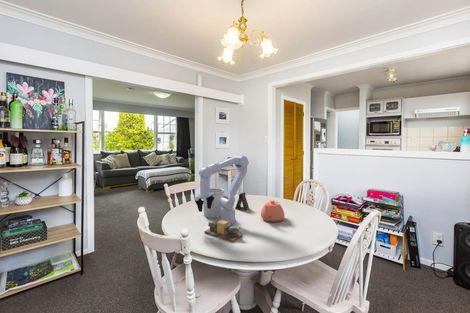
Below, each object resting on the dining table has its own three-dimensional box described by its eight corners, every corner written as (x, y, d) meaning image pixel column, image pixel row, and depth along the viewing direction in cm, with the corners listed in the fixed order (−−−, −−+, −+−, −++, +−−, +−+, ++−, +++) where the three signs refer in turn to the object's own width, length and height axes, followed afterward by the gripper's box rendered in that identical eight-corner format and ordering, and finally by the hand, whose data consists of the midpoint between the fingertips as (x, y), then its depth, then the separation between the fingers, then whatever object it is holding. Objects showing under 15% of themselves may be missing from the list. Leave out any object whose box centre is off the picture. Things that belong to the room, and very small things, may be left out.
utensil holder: (214, 219, 153) (214, 193, 151) (198, 215, 162) (198, 190, 160) (228, 213, 164) (228, 189, 163) (212, 209, 173) (212, 186, 172)
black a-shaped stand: (235, 208, 176) (235, 193, 175) (238, 206, 181) (238, 191, 180) (246, 210, 172) (246, 194, 171) (249, 208, 177) (249, 192, 176)
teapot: (276, 227, 140) (277, 207, 139) (253, 222, 148) (254, 203, 147) (288, 216, 158) (288, 198, 157) (267, 212, 167) (267, 195, 166)
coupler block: (228, 232, 129) (228, 221, 129) (224, 234, 126) (224, 224, 125) (221, 230, 132) (221, 220, 131) (216, 232, 128) (216, 222, 128)
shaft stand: (204, 233, 131) (204, 222, 130) (214, 228, 138) (214, 218, 138) (233, 242, 119) (233, 231, 119) (242, 236, 126) (242, 225, 126)
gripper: (208, 185, 147) (207, 206, 147) (191, 188, 135) (191, 211, 136) (216, 186, 142) (216, 208, 143) (200, 190, 131) (199, 213, 132)
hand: (204, 210), depth 139 cm, fingers open, 7 cm apart
